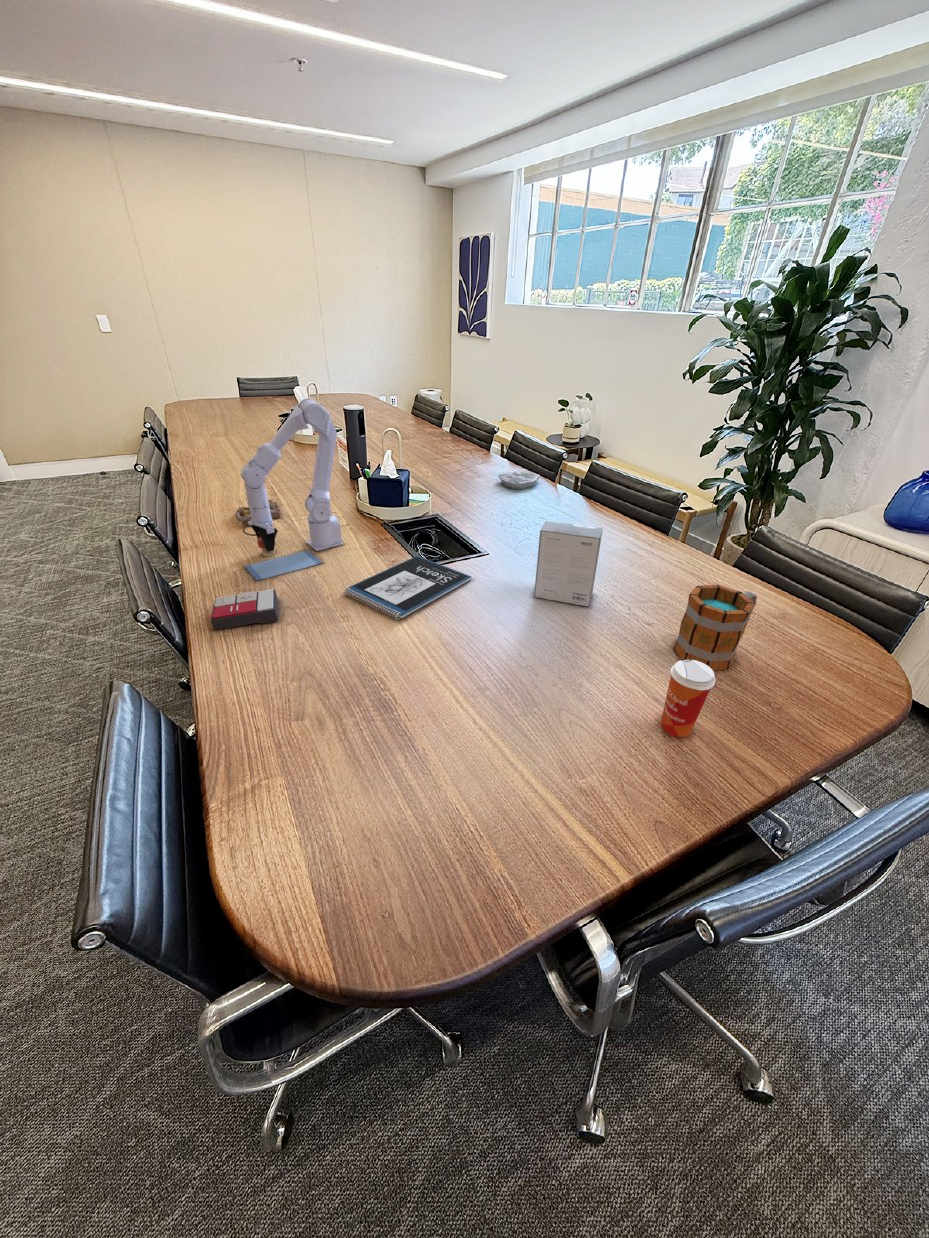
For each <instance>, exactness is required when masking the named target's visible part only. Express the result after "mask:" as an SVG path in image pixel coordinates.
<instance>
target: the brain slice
mask: <svg viewBox="0 0 929 1238" xmlns="http://www.w3.org/2000/svg"><path fill="white" fill-rule="evenodd" d="M497 476H498V479H499V480H500V481H501V482H502V484H503V485H504V486H505V487H507V488H510V489H512V490H524V489H528V488H530V487H533V486H535V484H536V483H537V482H538V481H539V478H540V477H541V475H540V474H537V473H534V472H530V471H519V470H518V471H504V472H503V473H500V474H498V475H497Z"/></svg>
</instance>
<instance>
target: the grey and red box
mask: <svg viewBox="0 0 929 1238" xmlns="http://www.w3.org/2000/svg"><path fill="white" fill-rule="evenodd" d="M276 591H277V590H276V589H275V588H274V589H273V588H270V589H264V590H259V591H257V590H253V591H248V592H243V593H237V595H236V594H230V595H223V596H218V597H216V598H215V599H214V601H213V606H212V612H211V616H210V622H211V625H212V626H211V627H212V628H213V631H219V630H226V629H231V628H236V627H237V628H238V627H241V626H247V625H253V624H262V625H264V624H271V623H276V622H278V621H279V598H278V595H277V592H276Z"/></svg>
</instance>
